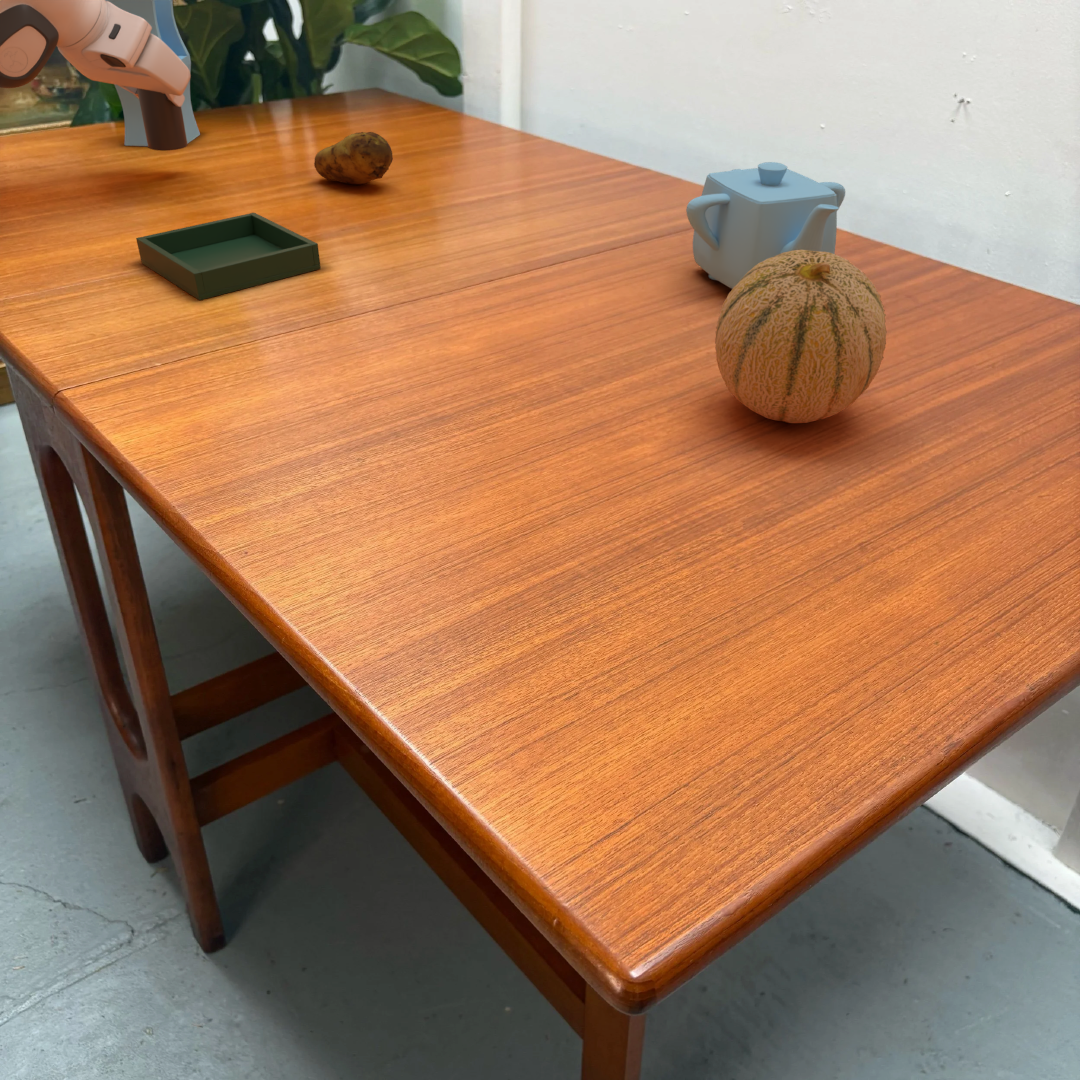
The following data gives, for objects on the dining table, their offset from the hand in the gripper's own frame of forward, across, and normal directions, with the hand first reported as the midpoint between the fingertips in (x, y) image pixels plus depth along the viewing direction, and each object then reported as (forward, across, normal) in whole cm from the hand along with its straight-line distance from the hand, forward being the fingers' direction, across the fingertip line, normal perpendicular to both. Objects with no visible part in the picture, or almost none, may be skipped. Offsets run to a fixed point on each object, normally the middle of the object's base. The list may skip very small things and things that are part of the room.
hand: (163, 99), depth 149 cm
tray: (-9, +36, -24) cm, 44 cm away
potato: (+15, +26, 0) cm, 30 cm away
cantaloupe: (-9, +106, -24) cm, 109 cm away
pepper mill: (+4, 0, -5) cm, 6 cm away
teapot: (+11, +93, -4) cm, 93 cm away
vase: (+18, -18, +2) cm, 26 cm away
